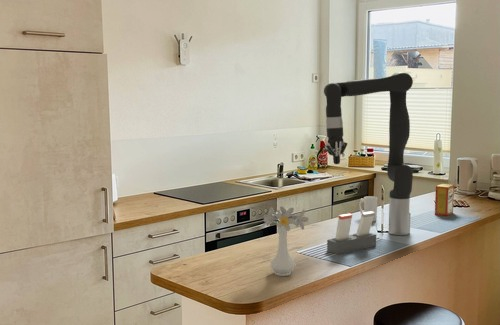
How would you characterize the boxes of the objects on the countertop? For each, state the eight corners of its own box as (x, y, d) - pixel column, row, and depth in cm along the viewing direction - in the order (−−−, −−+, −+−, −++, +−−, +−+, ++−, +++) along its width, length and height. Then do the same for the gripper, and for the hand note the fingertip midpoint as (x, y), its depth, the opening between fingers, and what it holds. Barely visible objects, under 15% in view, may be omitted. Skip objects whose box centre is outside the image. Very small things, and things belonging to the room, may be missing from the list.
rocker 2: (366, 232, 249) (372, 210, 245) (368, 234, 248) (374, 212, 244) (356, 234, 246) (362, 212, 242) (358, 236, 245) (364, 214, 241)
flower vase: (312, 271, 214) (313, 206, 211) (279, 283, 202) (279, 214, 198) (286, 263, 224) (286, 201, 220) (253, 274, 211) (253, 208, 208)
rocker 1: (345, 236, 243) (349, 213, 240) (348, 238, 241) (352, 214, 238) (335, 238, 239) (338, 215, 236) (338, 240, 238) (341, 216, 235)
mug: (379, 219, 296) (379, 197, 295) (373, 222, 291) (373, 199, 289) (361, 217, 302) (362, 195, 301) (355, 219, 297) (356, 197, 296)
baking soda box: (446, 216, 304) (447, 186, 302) (434, 214, 308) (435, 185, 306) (452, 213, 311) (454, 184, 309) (441, 211, 315) (442, 183, 313)
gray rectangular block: (366, 242, 253) (366, 230, 253) (376, 245, 248) (376, 233, 248) (327, 251, 241) (327, 238, 240) (336, 254, 236) (337, 241, 235)
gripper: (329, 128, 255) (331, 166, 257) (350, 125, 262) (353, 162, 264) (318, 128, 261) (320, 165, 263) (339, 125, 268) (342, 161, 270)
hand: (336, 163), depth 264 cm, fingers closed
